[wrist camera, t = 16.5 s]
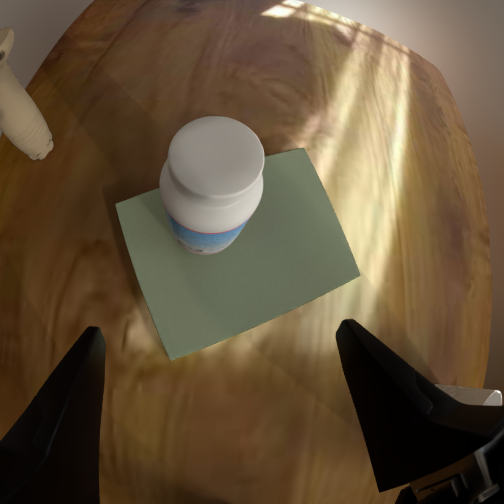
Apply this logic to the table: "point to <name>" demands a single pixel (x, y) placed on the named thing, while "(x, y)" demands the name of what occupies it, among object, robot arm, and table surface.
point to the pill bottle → (211, 182)
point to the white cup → (473, 395)
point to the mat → (240, 260)
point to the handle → (20, 108)
